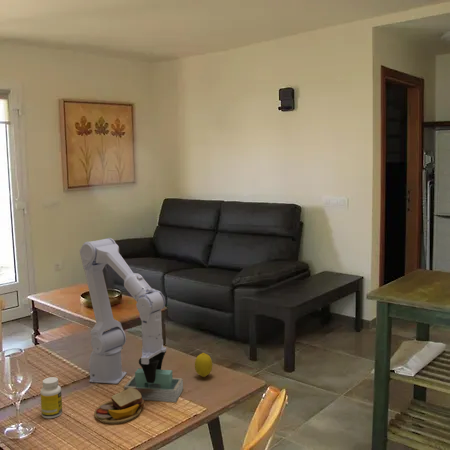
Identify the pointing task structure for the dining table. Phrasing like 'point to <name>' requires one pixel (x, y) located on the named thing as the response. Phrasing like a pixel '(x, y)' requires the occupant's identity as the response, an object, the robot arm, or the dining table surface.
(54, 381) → the supplement bottle
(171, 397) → the cabinet frame
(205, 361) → the lemon
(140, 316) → the robot arm
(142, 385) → the clip
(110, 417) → the toy sandwich meal
